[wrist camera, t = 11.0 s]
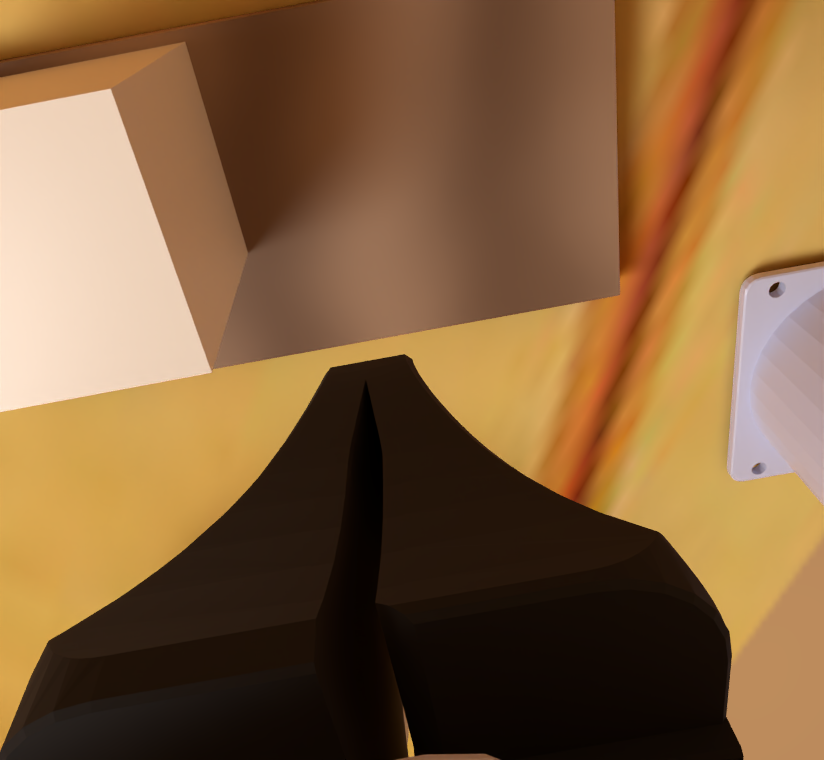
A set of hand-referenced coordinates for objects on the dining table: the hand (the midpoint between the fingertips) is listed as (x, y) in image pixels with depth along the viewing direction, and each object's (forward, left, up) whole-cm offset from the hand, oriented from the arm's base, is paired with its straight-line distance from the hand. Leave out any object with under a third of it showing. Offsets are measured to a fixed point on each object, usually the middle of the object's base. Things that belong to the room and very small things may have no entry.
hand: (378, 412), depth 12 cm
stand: (+2, -1, -10) cm, 11 cm away
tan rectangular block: (+6, -2, -9) cm, 11 cm away
